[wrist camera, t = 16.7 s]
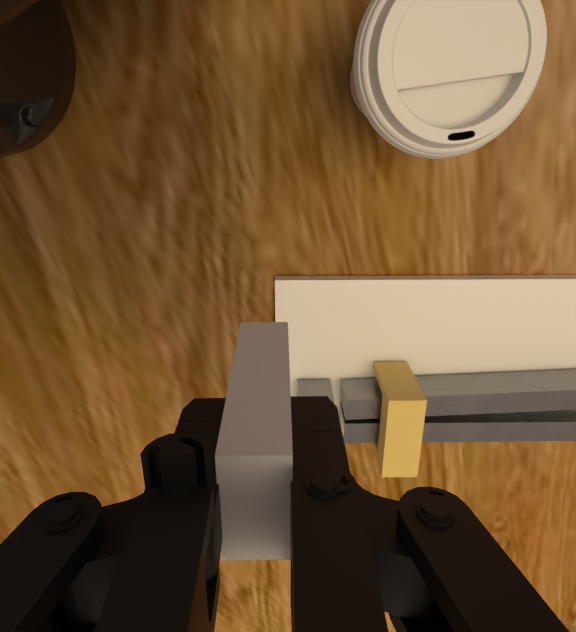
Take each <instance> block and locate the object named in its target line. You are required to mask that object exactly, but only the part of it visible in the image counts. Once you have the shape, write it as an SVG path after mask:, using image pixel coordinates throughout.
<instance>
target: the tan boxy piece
mask: <svg viewBox="0 0 576 632" xmlns="http://www.w3.org/2000/svg"><path fill="white" fill-rule="evenodd" d="M373 370H374V373H375V376H376V378H377V381H378V384H379V386H380V389H381V392H382V407H381V418H380V430H379V441H378V442H372V445H373V448H374V452H375V455H376V459H377V462H378V466H379V470H380V473H381V477H417V475H418V467H419V459H420V451H421V443H422V436H423V428H424V420H425V412H426V404H427V400H426V398H425V396H424V394H423V392H422V390H421V388H420V386H419V384H418V382H417V380H416V378H415V376H414V374H413V372H412V371H411V369H410V367H409V365H408V363H407V362H374V368H373Z"/></svg>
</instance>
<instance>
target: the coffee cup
mask: <svg viewBox="0 0 576 632" xmlns="http://www.w3.org/2000/svg"><path fill="white" fill-rule="evenodd" d="M546 43H547V29H546V20H545V15H544V10H543V7H542V4H541V1H540V0H371V2H370V3H369V5H368V7H367V9H366V11H365V13H364V15H363V18H362V20H361V23H360V26H359V29H358V33H357V37H356V41H355V47H354V56H353V64H352V67H351V72H350V90H351V94H352V97H353V100H354V102H355V104H356V106H357V108H358V109H359V110H360V111H361V113H362V114H363V115H364V116H366V117H367V119H368V121H369V122H370V124H371V125H372V127H373V128H374V129H375V130H376V131H377V133H378V134H379V135H380V136H381V137H382V138H383V139H385V140H386V141H387V142H388V143H390V144H391V145H392V146H394V147H396V148H397V149H399V150H401V151H403V152H405V153H408V154H411V155H414V156H418V157H422V158H431V159H442V158H450V157H456V156H460V155H463V154H466V153H469V152H471V151H473V150H476V149H478V148H480V147H481V146H483V145H485V144H486V143H488V142H490V141H491V140H493V139H494V138H496V137H497V136H498V135H499V134H501V133H502V132H503V131H504V130H505V129H506V128H507V127H508V126H509V125H510V124H511V123H512V122H513V121H514V120H515V119H516V118H517V116H518V115H519V114H520V113H521V111H522V110H523V108H524V107H525V105H526V104H527V102H528V100H529V99H530V97H531V95H532V93H533V91H534V89H535V87H536V85H537V82H538V80H539V77H540V74H541V70H542V67H543V63H544V58H545V52H546Z"/></svg>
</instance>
